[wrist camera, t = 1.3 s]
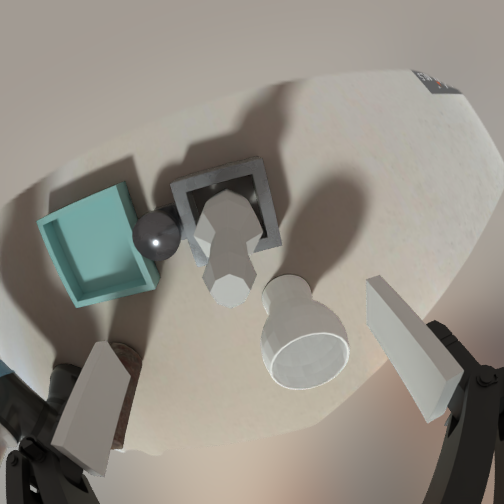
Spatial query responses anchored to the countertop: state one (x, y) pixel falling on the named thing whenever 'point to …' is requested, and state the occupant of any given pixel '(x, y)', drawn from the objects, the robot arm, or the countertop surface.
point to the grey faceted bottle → (228, 246)
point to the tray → (98, 248)
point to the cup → (301, 336)
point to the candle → (133, 367)
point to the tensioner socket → (186, 214)
